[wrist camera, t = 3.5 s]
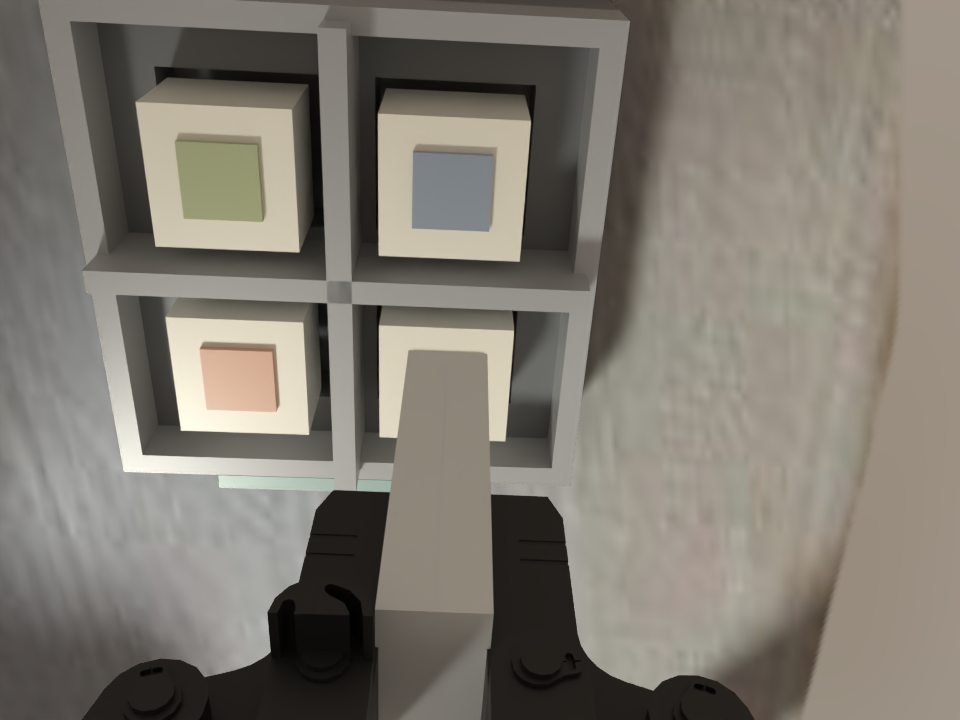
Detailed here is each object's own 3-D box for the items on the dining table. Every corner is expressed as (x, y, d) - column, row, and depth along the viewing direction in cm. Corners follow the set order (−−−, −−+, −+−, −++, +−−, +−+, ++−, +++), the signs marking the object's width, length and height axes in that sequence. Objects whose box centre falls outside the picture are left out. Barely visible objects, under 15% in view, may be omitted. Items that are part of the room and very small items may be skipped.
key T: (385, 219, 31) (378, 258, 28) (386, 88, 29) (377, 115, 26) (514, 224, 31) (520, 264, 28) (524, 94, 29) (531, 122, 26)
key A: (204, 383, 34) (179, 433, 31) (191, 276, 32) (163, 319, 29) (321, 387, 34) (308, 438, 31) (316, 281, 32) (302, 325, 29)
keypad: (161, 420, 38) (114, 508, 33) (93, -30, 29) (16, -4, 24) (558, 434, 39) (572, 521, 34) (608, -2, 30) (637, 28, 25)
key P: (183, 210, 31) (153, 248, 28) (167, 77, 29) (133, 103, 26) (314, 216, 31) (298, 255, 28) (308, 84, 29) (290, 111, 26)
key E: (386, 389, 35) (378, 440, 32) (386, 284, 32) (378, 328, 29) (502, 394, 35) (505, 444, 32) (509, 289, 32) (514, 333, 30)
